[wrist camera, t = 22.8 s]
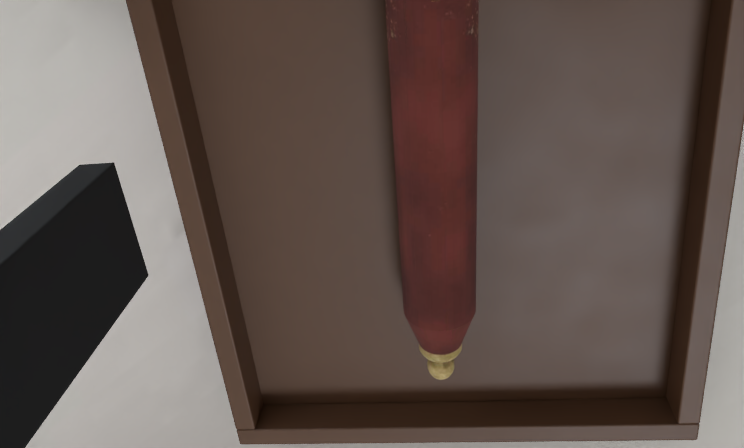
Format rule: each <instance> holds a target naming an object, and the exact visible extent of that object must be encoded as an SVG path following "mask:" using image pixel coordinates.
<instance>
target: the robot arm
mask: <svg viewBox="0 0 744 448" xmlns="http://www.w3.org/2000/svg"><path fill="white" fill-rule="evenodd" d="M147 277H148V272H147V269H146V266H145V262H144V259H143V256H142V253H141V249H140V246H139V243H138V240H137V236H136V233H135V230H134V227H133V223H132V220H131V217H130V214H129V210H128V207H127V204H126V201H125V197H124V194H123V191H122V188H121V184H120V181H119V178H118V175H117V171H116V168H115V165H114V163H102V164H87V165H79V166H78V167H76V168H75V169H74V170H73V171H71V172H70V173H69V174H68V175H67V176H65V177H64V178H63V179H62V180H61V181H59V182H58V183H57V184H56V185H55V186H53V187H52V188H51V189H50V190H48V191H47V192H46V193H45V194H44V195H42V196H41V197H40V198H39V199H38V200H36V201H35V202H34V203H33V204H31V205H30V206H29V207H28V208H27V209H25V210H24V211H23V212H22V213H21V214H19V215H18V216H17V217H16V218H14V219H13V220H12V221H11V222H10V223H8V224H7V225H6V226H5V227H4V228H2V229H1V230H0V448H25V447H26V445H27V444H28V443H29V441H30V440H31V438H32V437H33V436H34V434H35V433H36V431H37V430H38V429H39V427H40V426H41V424H42V423H43V422H44V420H45V419H46V417H47V416H48V415H49V413H50V412H51V410H52V409H53V408H54V406H55V405H56V404H57V402H58V401H59V399H60V398H61V397H62V395H63V394H64V392H65V391H66V390H67V388H68V387H69V385H70V384H71V383H72V381H73V380H74V378H75V377H76V376H77V374H78V373H79V371H80V370H81V369H82V367H83V366H84V365H85V363H86V362H87V360H88V359H89V358H90V356H91V355H92V353H93V352H94V351H95V349H96V348H97V346H98V345H99V344H100V342H101V341H102V339H103V338H104V337H105V335H106V334H107V332H108V331H109V330H110V328H111V327H112V325H113V324H114V323H115V321H116V320H117V319H118V317H119V316H120V314H121V313H122V312H123V310H124V309H125V307H126V306H127V305H128V303H129V302H130V300H131V299H132V298H133V296H134V295H135V293H136V292H137V291H138V289H139V288H140V286H141V285H142V284H143V282H144V281H145V279H146V278H147Z"/></svg>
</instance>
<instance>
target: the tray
mask: <svg viewBox="0 0 744 448" xmlns="http://www.w3.org/2000/svg"><path fill="white" fill-rule="evenodd" d="M126 3H127V6H128V10H129V14H130V18H131V22H132V26H133V30H134V34H135V37H136V41H137V45H138V49H139V53H140V57H141V61H142V65H143V69H144V72H145V76H146V80H147V84H148V88H149V92H150V96H151V100H152V103H153V107H154V111H155V115H156V119H157V123H158V127H159V131H160V135H161V138H162V142H163V146H164V150H165V154H166V158H167V162H168V166H169V169H170V173H171V177H172V181H173V185H174V189H175V193H176V197H177V201H178V204H179V208H180V212H181V216H182V220H183V224H184V228H185V232H186V235H187V239H188V243H189V247H190V251H191V255H192V259H193V263H194V266H195V270H196V274H197V278H198V282H199V286H200V290H201V294H202V298H203V301H204V305H205V309H206V313H207V317H208V321H209V325H210V329H211V332H212V336H213V340H214V344H215V348H216V352H217V356H218V360H219V364H220V367H221V371H222V375H223V379H224V383H225V387H226V391H227V395H228V398H229V402H230V406H231V410H232V414H233V418H234V422H235V426H236V429H237V433H238V437H239V441H240V444H320V443H423V442H526V441H629V440H696V439H697V437H698V430H699V422H700V416H701V409H702V402H703V396H704V389H705V382H706V375H707V368H708V362H709V355H710V348H711V341H712V334H713V328H714V321H715V314H716V307H717V300H718V294H719V287H720V280H721V273H722V266H723V260H724V253H725V246H726V239H727V232H728V226H729V219H730V212H731V205H732V198H733V192H734V185H735V178H736V171H737V164H738V158H739V151H740V144H741V137H742V130H743V124H744V0H479V25H478V134H477V243H476V312H475V315H474V317H473V319H472V321H471V324H470V326H469V328H468V330H467V333H466V335H465V337H464V339H463V341H462V350H461V352H460V353H459V355H458V356H457V357H456V358H454V359H453V360H454V370H453V373H452V374H451V375H450V376H449V377H448V378H447V379H443V380H439V379H436V378H434V377H433V376H432V375H431V374H430V373H429V370H428V367H427V362H428V359H427V358H426V357H424V356H423V355H422V353H421V352H420V350H419V343H418V341H417V339H416V337H415V335H414V333H413V331H412V329H411V327H410V325H409V323H408V321H407V319H406V317H405V314H404V310H403V293H402V277H401V260H400V243H399V226H398V210H397V193H396V176H395V159H394V142H393V126H392V109H391V92H390V75H389V59H388V42H387V25H386V8H385V0H126Z"/></svg>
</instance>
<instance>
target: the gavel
mask: <svg viewBox="0 0 744 448" xmlns="http://www.w3.org/2000/svg"><path fill="white" fill-rule="evenodd" d="M385 8H386V25H387V42H388V59H389V75H390V92H391V109H392V126H393V142H394V159H395V176H396V193H397V210H398V226H399V243H400V260H401V277H402V293H403V310H404V314H405V317H406V319H407V321H408V323H409V325H410V327H411V329H412V331H413V333H414V335H415V337H416V339H417V341H418V343H419V350H420V352H421V353H422V355H423V356H424V357H426V358H427V359H428V362H427V367H428V370H429V373H430V374H431V375H432V376H433V377H434V378H436V379H439V380H443V379H447V378H448V377H449V376H450V375H451V374H452V373H453V370H454V360H453V359H454V358H456V357H457V356H458V355H459V353H460V352H461V350H462V341H463V339H464V337H465V335H466V333H467V330H468V328H469V326H470V324H471V321H472V319H473V317H474V315H475V312H476V243H477V134H478V25H479V0H385Z"/></svg>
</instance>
